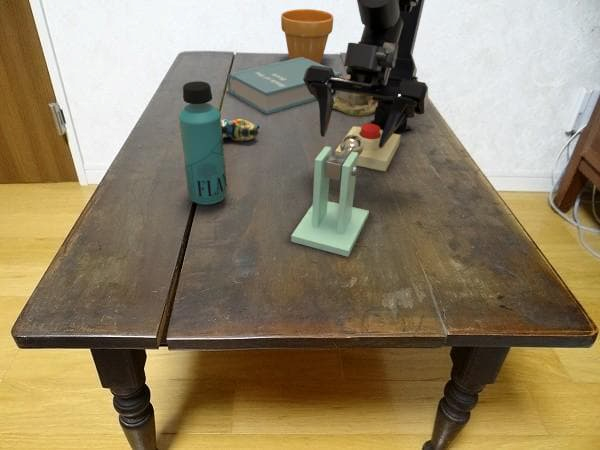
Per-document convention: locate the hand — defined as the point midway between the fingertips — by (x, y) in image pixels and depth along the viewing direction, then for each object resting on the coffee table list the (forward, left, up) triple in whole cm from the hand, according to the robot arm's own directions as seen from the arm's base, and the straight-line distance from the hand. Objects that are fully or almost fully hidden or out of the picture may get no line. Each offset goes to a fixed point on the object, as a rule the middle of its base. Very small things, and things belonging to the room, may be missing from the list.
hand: (350, 141), depth 73 cm
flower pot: (-27, -67, -12) cm, 73 cm away
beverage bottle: (+20, -10, -12) cm, 26 cm away
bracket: (+5, +5, -12) cm, 14 cm away
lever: (+2, +2, -3) cm, 4 cm away
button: (-14, -14, -8) cm, 22 cm away
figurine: (+10, -32, -12) cm, 36 cm away
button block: (-14, -14, -12) cm, 23 cm away
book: (-12, -49, -12) cm, 52 cm away
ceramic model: (-25, -35, -12) cm, 45 cm away
